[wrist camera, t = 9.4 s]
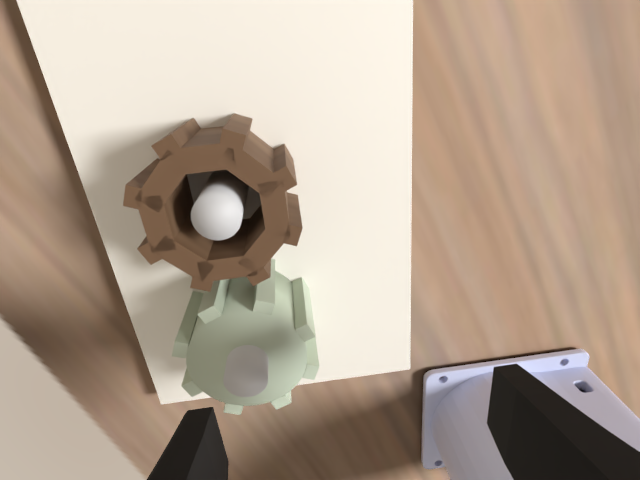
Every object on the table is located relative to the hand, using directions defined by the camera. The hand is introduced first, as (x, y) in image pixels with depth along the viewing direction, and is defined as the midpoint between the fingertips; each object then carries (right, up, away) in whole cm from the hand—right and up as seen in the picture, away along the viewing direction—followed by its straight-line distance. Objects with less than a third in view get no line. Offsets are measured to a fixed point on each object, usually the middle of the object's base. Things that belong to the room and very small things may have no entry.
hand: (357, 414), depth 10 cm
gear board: (-4, +6, +7) cm, 10 cm away
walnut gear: (-5, +7, +6) cm, 10 cm away
